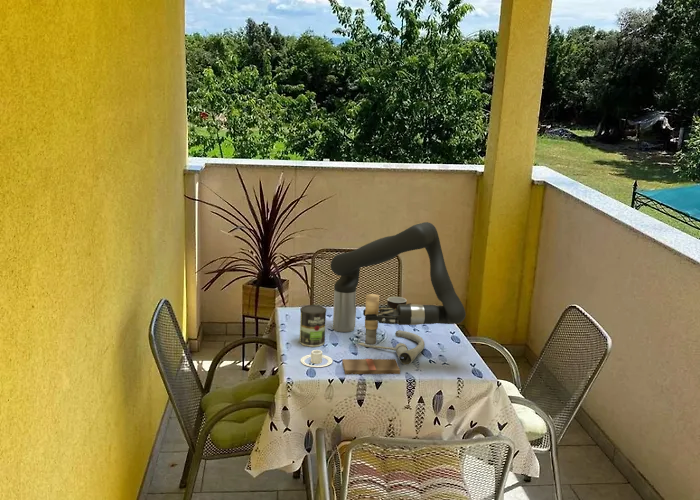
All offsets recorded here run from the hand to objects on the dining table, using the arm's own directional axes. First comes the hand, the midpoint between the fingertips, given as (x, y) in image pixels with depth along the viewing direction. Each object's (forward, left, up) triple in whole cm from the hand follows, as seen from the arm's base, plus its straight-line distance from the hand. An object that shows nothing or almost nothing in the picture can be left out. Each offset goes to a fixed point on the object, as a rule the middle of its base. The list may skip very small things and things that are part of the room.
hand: (364, 314), depth 243 cm
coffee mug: (-51, -13, -20) cm, 57 cm away
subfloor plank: (0, +4, -20) cm, 20 cm away
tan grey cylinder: (-2, +2, -11) cm, 11 cm away
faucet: (-24, 0, -21) cm, 32 cm away
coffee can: (-7, -28, -20) cm, 36 cm away
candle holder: (+7, -16, -21) cm, 27 cm away
